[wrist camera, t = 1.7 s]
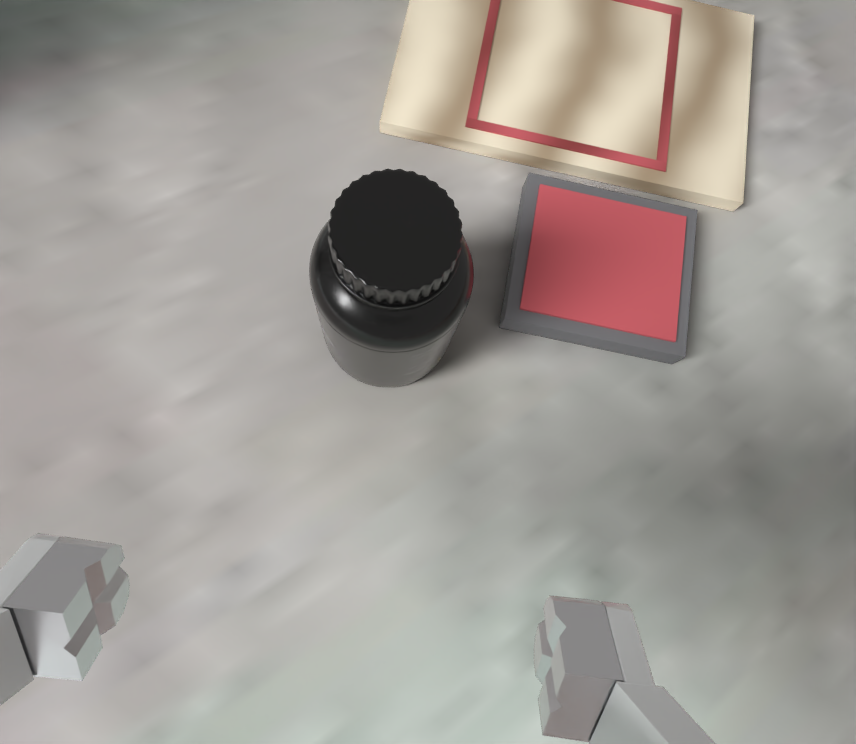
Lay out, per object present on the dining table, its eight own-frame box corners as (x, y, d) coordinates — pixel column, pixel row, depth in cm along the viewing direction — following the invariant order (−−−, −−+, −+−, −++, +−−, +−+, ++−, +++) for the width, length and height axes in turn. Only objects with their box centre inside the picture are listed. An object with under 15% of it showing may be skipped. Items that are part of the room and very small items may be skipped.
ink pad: (499, 327, 33) (505, 317, 31) (522, 186, 35) (530, 170, 33) (671, 364, 33) (687, 356, 31) (684, 222, 35) (699, 208, 34)
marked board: (379, 132, 35) (379, 120, 34) (424, -49, 38) (425, -65, 37) (733, 211, 36) (744, 202, 35) (744, 27, 39) (755, 14, 38)
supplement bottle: (297, 336, 31) (252, 231, 20) (380, 249, 33) (383, 104, 22) (395, 417, 31) (408, 358, 19) (474, 324, 33) (530, 218, 21)
